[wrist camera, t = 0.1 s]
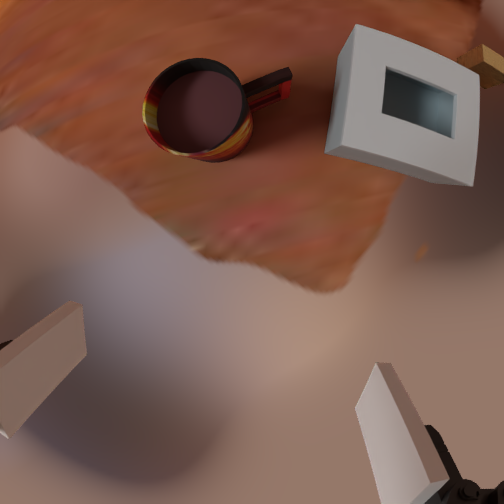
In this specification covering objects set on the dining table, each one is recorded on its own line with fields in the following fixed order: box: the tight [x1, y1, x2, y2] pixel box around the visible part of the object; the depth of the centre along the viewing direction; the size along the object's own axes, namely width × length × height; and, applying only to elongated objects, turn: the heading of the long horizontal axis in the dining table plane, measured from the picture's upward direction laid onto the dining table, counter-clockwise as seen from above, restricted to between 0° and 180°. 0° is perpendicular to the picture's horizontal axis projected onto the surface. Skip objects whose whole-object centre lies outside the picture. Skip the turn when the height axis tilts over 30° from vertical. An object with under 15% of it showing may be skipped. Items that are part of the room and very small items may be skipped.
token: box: [457, 44, 504, 89], centre depth 27 cm, size 3×6×8 cm, turn 81°
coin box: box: [324, 24, 480, 186], centre depth 29 cm, size 14×16×10 cm
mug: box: [142, 58, 292, 163], centre depth 30 cm, size 10×14×12 cm
